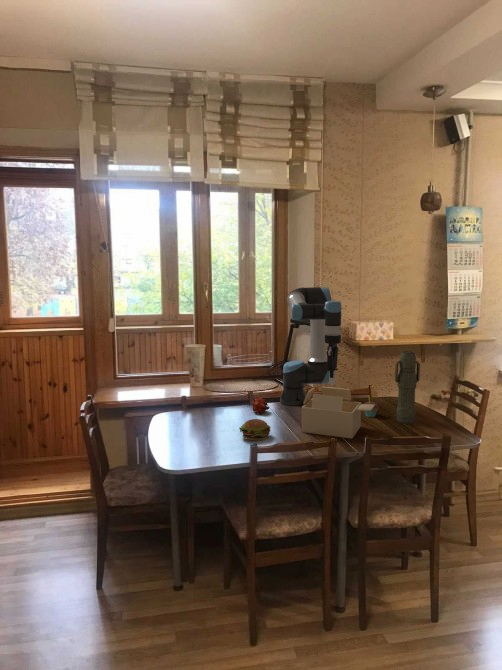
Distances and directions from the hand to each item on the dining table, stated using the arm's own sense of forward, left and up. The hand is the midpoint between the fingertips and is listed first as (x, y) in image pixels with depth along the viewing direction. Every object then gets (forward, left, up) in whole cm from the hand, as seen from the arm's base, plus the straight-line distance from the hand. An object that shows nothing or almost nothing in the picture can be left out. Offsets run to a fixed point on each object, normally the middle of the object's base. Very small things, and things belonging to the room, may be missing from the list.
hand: (332, 384), depth 242 cm
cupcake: (+13, +28, -22) cm, 38 cm away
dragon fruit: (-42, +12, -23) cm, 49 cm away
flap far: (0, +10, -10) cm, 14 cm away
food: (-30, -23, -23) cm, 44 cm away
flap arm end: (-13, 0, -10) cm, 16 cm away
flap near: (0, -9, -10) cm, 14 cm away
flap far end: (+12, 0, -10) cm, 16 cm away
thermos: (+31, +26, -22) cm, 46 cm away
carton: (0, 0, -22) cm, 22 cm away
